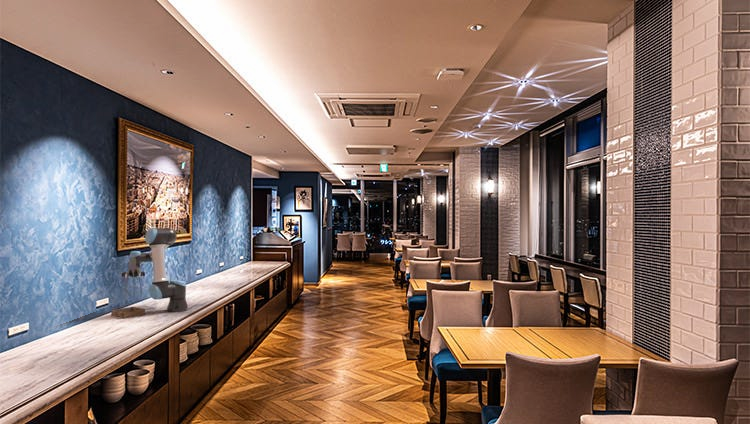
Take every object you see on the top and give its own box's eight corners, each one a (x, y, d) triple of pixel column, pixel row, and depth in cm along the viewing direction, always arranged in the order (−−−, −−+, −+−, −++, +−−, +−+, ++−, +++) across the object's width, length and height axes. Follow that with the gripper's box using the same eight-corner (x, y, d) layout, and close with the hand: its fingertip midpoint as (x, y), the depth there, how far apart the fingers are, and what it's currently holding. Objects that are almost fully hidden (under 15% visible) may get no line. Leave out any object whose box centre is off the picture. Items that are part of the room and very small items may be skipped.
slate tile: (154, 308, 374) (154, 307, 374) (137, 311, 362) (137, 310, 362) (144, 306, 382) (144, 305, 382) (127, 309, 370) (127, 308, 370)
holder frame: (145, 314, 353) (145, 309, 353) (122, 318, 338) (123, 313, 338) (133, 311, 361) (133, 306, 361) (110, 315, 347) (110, 310, 347)
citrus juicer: (134, 298, 353) (133, 258, 351) (121, 298, 354) (119, 258, 352) (142, 294, 365) (140, 255, 363) (129, 294, 365) (128, 256, 363)
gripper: (149, 276, 380) (148, 280, 359) (119, 277, 371) (116, 281, 350) (149, 266, 380) (148, 270, 359) (119, 267, 371) (116, 271, 350)
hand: (132, 275), depth 355 cm, fingers closed on citrus juicer, 9 cm apart
